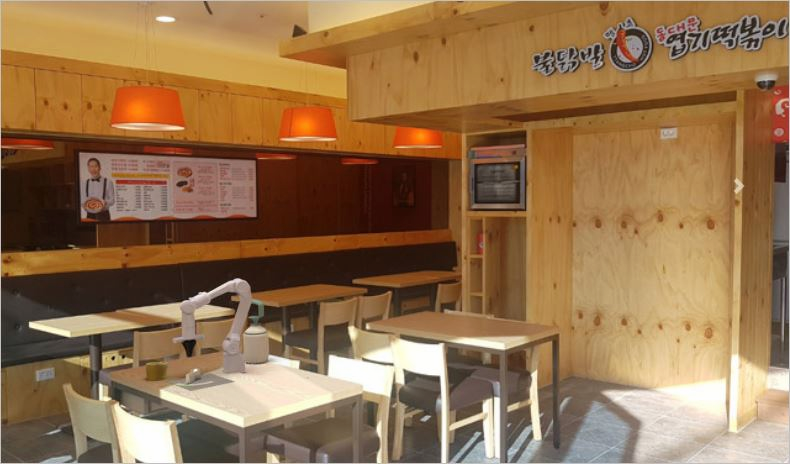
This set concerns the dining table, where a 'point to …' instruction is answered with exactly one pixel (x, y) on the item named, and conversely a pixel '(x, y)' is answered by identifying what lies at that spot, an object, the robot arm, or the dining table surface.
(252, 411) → the dining table surface
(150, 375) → the mug
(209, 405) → the dining table surface
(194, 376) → the tuning dial
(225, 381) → the tuner board
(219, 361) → the dining table surface
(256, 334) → the soap bottle
